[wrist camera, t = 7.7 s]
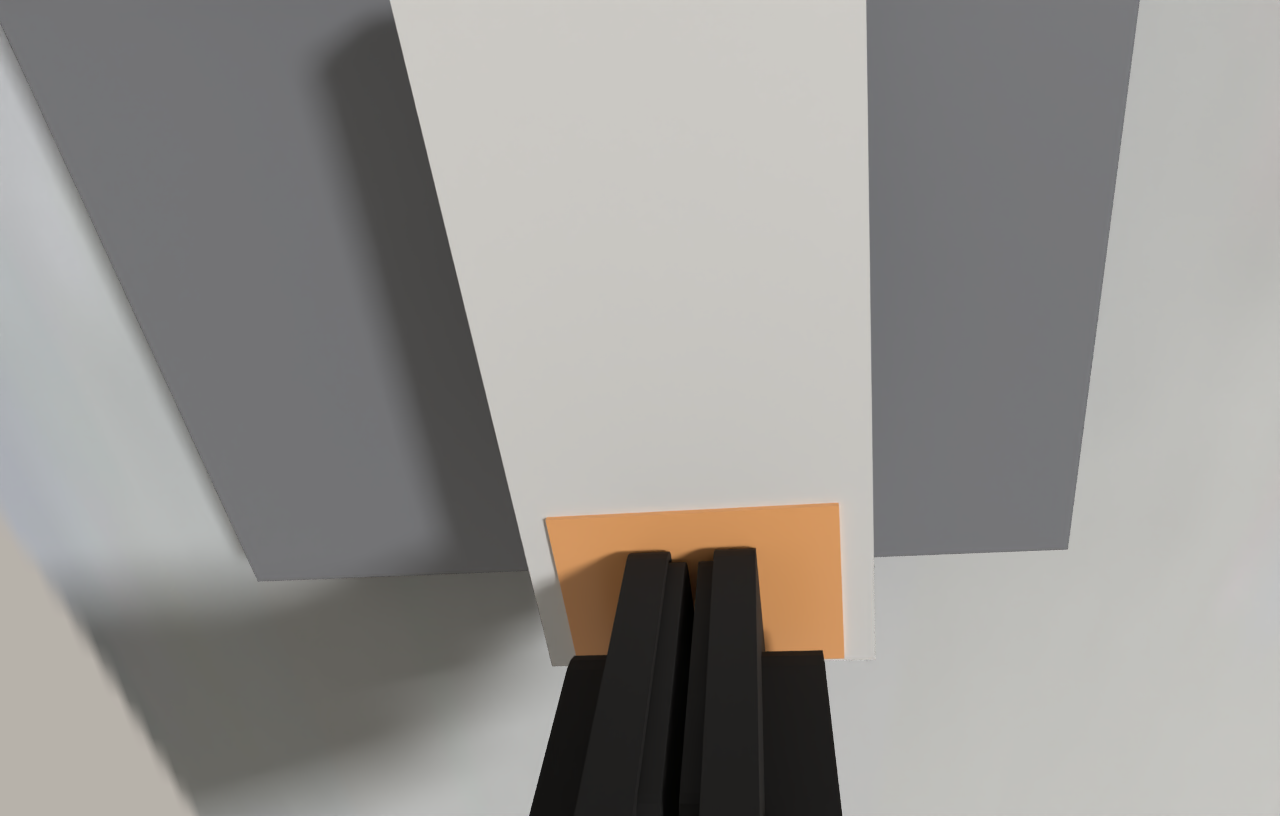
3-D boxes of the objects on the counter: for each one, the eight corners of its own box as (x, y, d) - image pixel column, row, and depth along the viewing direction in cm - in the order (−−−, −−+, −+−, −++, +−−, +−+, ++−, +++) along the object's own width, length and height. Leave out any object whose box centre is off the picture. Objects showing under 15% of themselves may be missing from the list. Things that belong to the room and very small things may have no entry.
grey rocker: (411, -61, 8) (371, -66, 8) (850, -136, 8) (865, -152, 7) (566, 617, 12) (551, 670, 12) (865, 608, 12) (875, 663, 11)
